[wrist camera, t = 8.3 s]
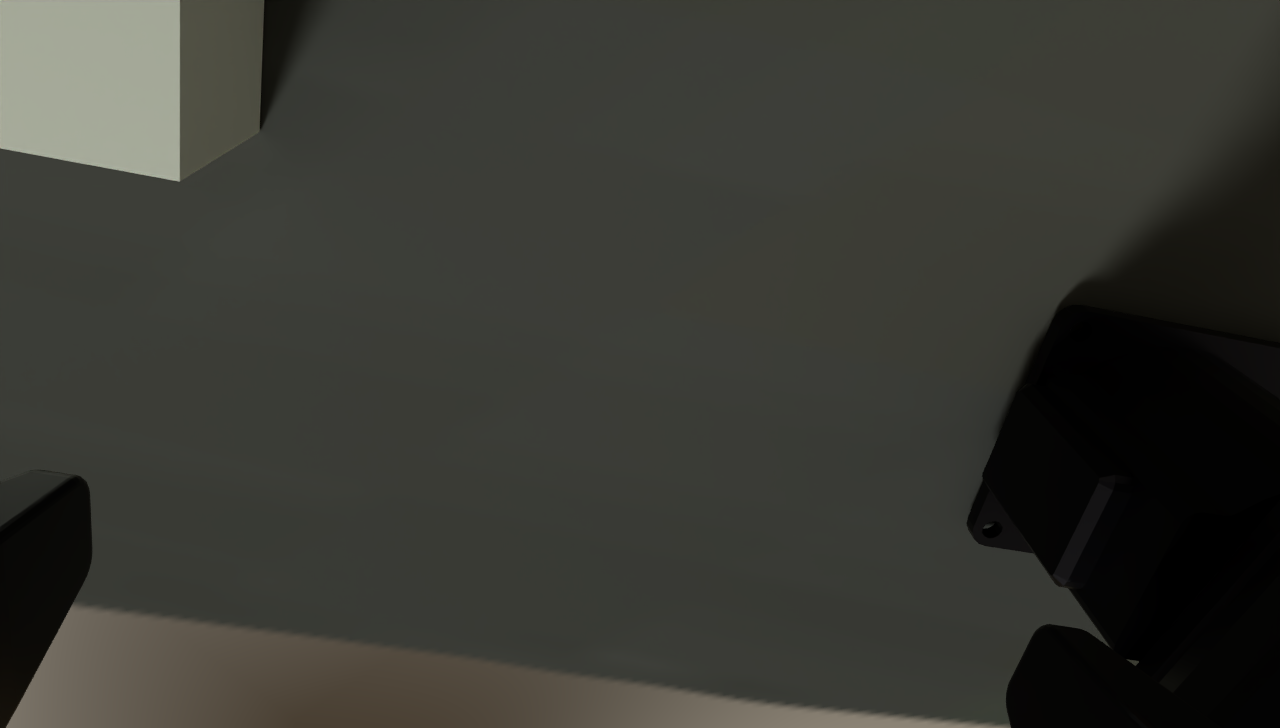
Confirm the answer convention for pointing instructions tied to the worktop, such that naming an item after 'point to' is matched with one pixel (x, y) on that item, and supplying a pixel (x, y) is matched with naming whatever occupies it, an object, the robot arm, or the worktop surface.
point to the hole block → (130, 81)
